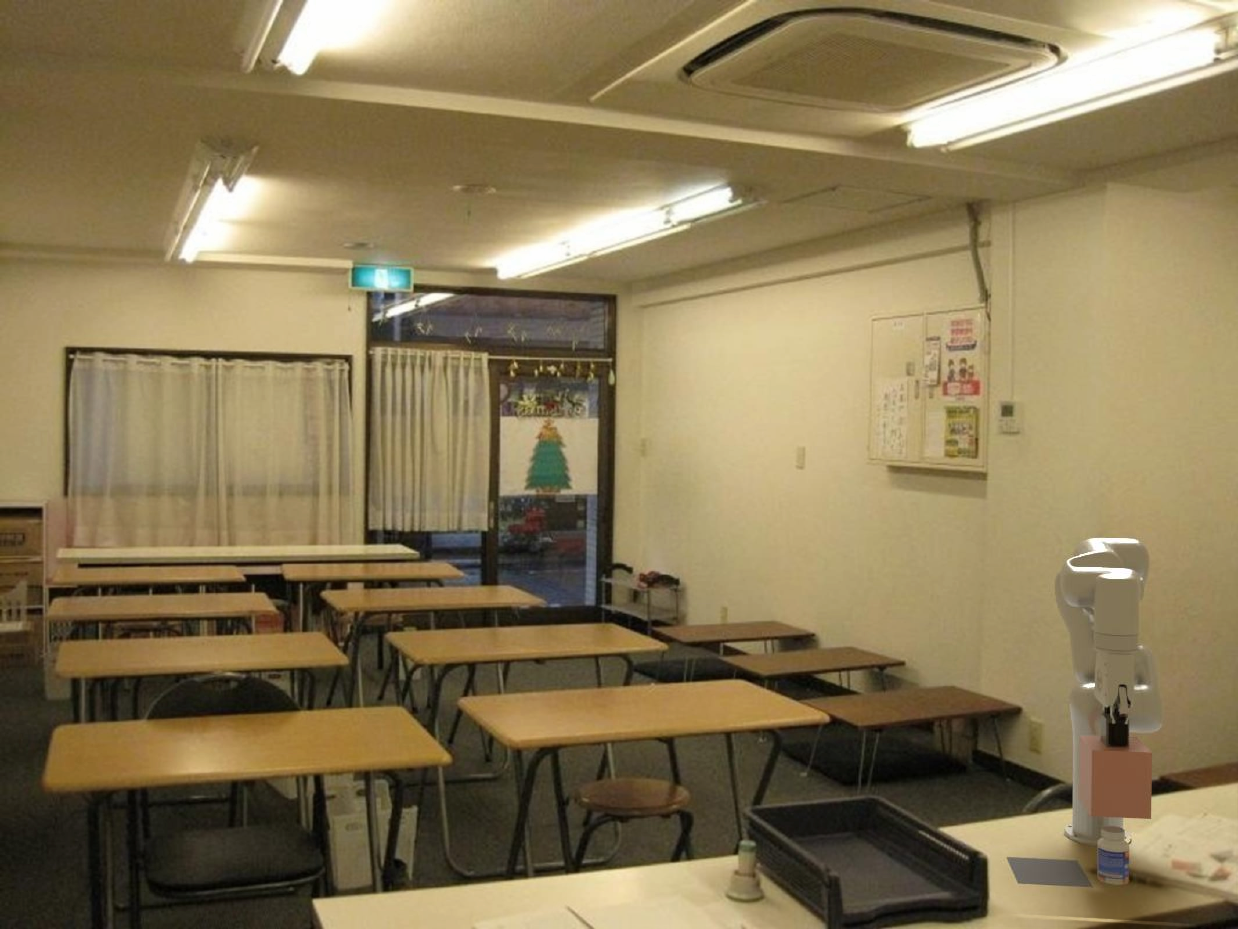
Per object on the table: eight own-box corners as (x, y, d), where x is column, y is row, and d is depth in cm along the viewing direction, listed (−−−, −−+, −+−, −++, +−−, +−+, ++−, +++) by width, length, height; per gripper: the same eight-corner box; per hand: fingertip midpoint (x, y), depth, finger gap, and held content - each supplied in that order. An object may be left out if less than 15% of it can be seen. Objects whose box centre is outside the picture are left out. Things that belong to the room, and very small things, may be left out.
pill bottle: (1131, 888, 220) (1132, 835, 220) (1099, 886, 221) (1100, 833, 221) (1125, 877, 225) (1126, 825, 225) (1094, 874, 226) (1095, 823, 226)
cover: (1078, 798, 228) (1079, 708, 227) (1135, 800, 227) (1136, 710, 226) (1091, 816, 218) (1092, 722, 217) (1151, 819, 217) (1152, 724, 216)
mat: (1006, 859, 234) (1006, 857, 234) (1077, 863, 232) (1077, 860, 232) (1018, 885, 221) (1018, 883, 221) (1092, 889, 219) (1092, 887, 219)
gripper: (1084, 633, 230) (1082, 729, 231) (1105, 650, 213) (1104, 754, 214) (1125, 634, 229) (1124, 730, 230) (1150, 651, 212) (1149, 755, 213)
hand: (1114, 740), depth 222 cm, fingers closed on cover, 4 cm apart
